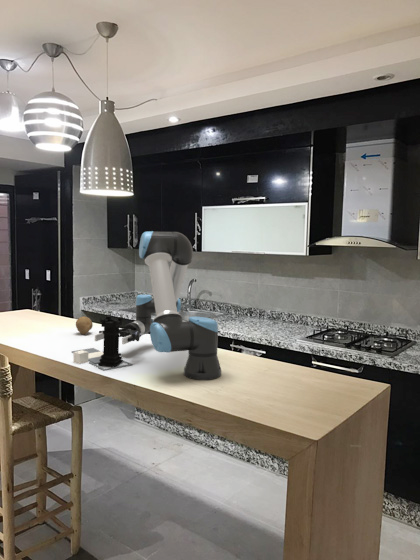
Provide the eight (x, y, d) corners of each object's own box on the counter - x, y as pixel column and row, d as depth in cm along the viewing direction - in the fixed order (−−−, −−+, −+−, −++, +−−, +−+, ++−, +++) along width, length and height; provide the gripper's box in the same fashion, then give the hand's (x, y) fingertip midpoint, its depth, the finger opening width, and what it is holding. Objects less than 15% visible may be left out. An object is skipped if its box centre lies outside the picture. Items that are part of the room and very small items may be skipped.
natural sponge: (82, 331, 256) (82, 314, 255) (96, 333, 253) (95, 315, 252) (72, 334, 247) (72, 317, 246) (86, 336, 244) (85, 318, 243)
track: (117, 360, 201) (117, 358, 200) (94, 364, 193) (94, 363, 193) (93, 348, 219) (93, 347, 219) (71, 352, 212) (71, 351, 212)
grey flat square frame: (132, 365, 193) (132, 364, 193) (103, 370, 184) (103, 369, 184) (117, 358, 203) (117, 357, 203) (89, 363, 195) (89, 362, 195)
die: (88, 362, 197) (88, 351, 196) (79, 364, 193) (79, 353, 193) (82, 360, 200) (82, 349, 199) (73, 362, 196) (73, 351, 196)
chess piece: (115, 367, 189) (116, 321, 186) (98, 365, 191) (99, 319, 188) (123, 361, 197) (124, 317, 194) (106, 359, 199) (107, 315, 196)
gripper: (157, 340, 208) (134, 351, 188) (110, 335, 217) (84, 345, 197) (157, 324, 208) (134, 333, 188) (110, 320, 216) (84, 328, 196)
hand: (108, 339), depth 192 cm, fingers open, 13 cm apart
